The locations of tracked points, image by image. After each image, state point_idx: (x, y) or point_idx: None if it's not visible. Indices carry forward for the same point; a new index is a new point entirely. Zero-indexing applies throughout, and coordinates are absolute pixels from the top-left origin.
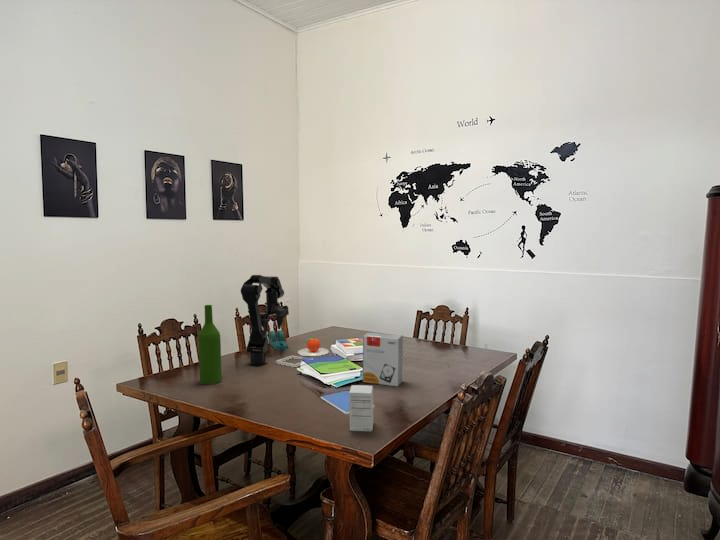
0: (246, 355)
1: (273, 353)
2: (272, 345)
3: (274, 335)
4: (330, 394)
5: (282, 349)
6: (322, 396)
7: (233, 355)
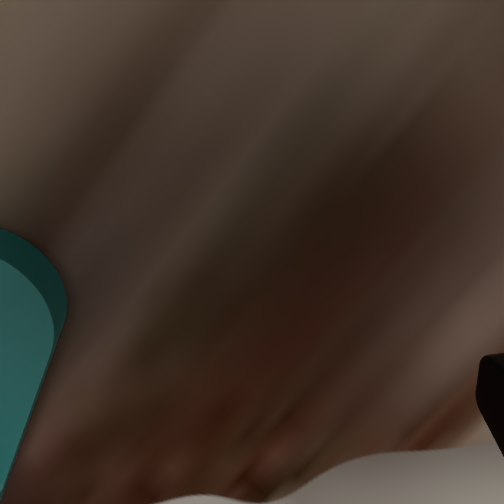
0: (439, 340)
1: (198, 197)
2: (16, 455)
3: None
4: None
5: (12, 241)
6: None
7: None
